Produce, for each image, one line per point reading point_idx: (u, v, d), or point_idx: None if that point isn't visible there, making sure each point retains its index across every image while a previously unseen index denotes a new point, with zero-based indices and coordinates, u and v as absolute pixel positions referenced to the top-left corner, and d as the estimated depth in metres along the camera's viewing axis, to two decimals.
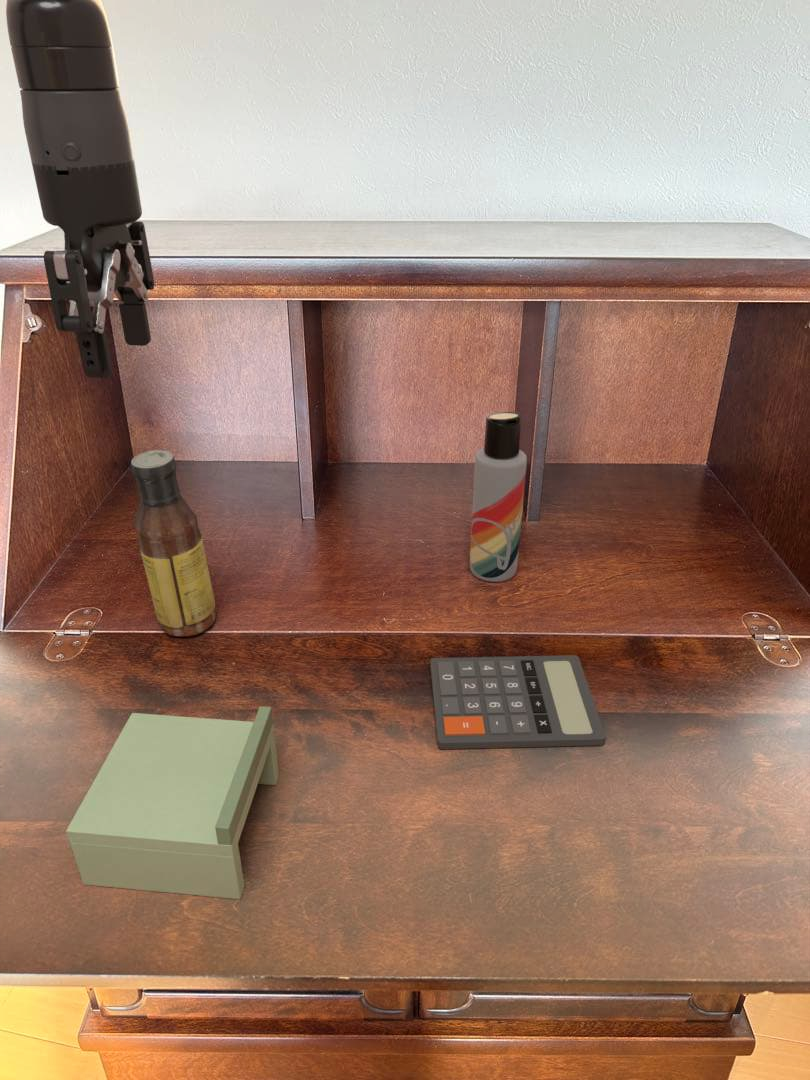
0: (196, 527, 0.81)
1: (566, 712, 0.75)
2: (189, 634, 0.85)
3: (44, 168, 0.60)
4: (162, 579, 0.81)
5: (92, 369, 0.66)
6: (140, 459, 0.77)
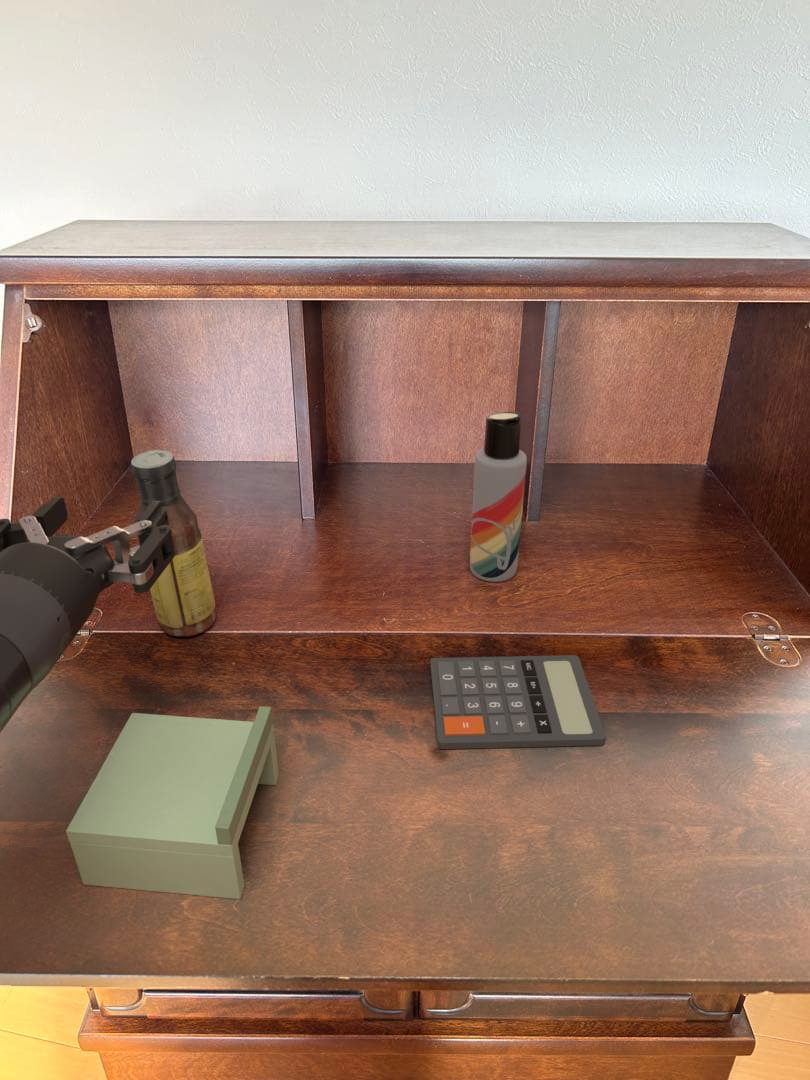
0: (196, 527, 0.81)
1: (566, 712, 0.75)
2: (189, 634, 0.85)
3: None
4: (162, 579, 0.81)
5: None
6: (140, 459, 0.77)
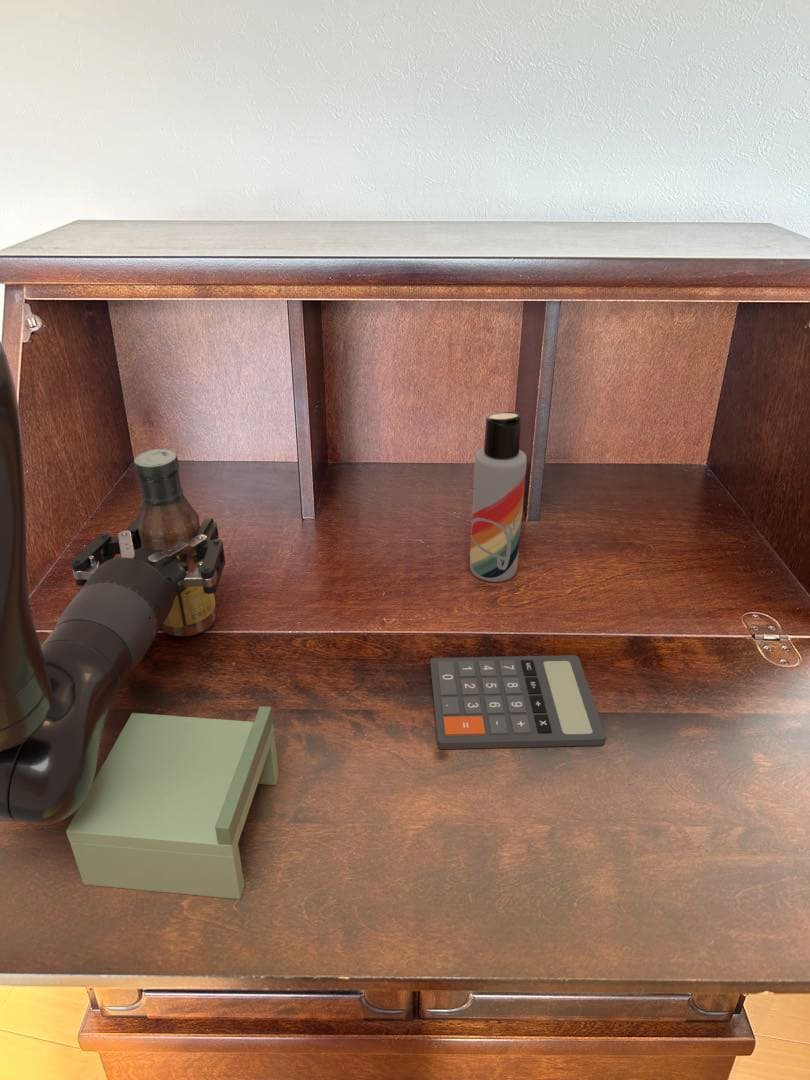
0: (198, 526, 0.81)
1: (566, 712, 0.75)
2: (189, 633, 0.85)
3: None
4: None
5: None
6: (143, 458, 0.77)
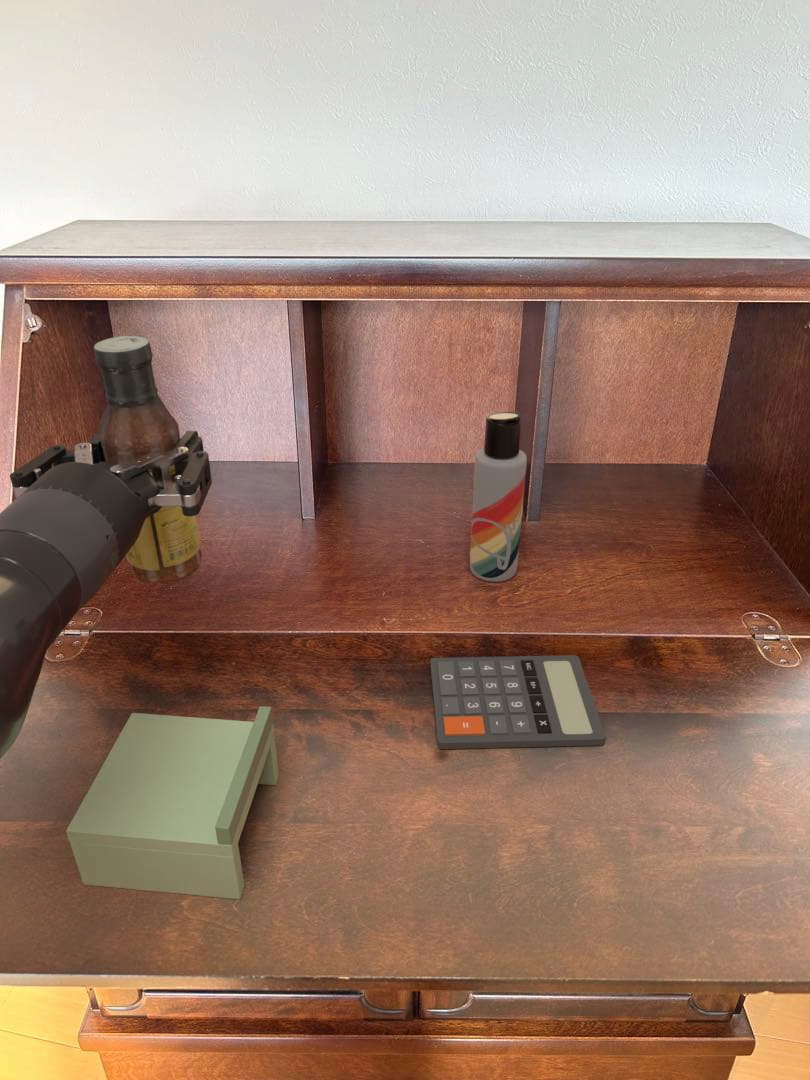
0: (177, 439, 0.64)
1: (566, 712, 0.75)
2: (167, 579, 0.67)
3: None
4: None
5: None
6: (106, 343, 0.60)
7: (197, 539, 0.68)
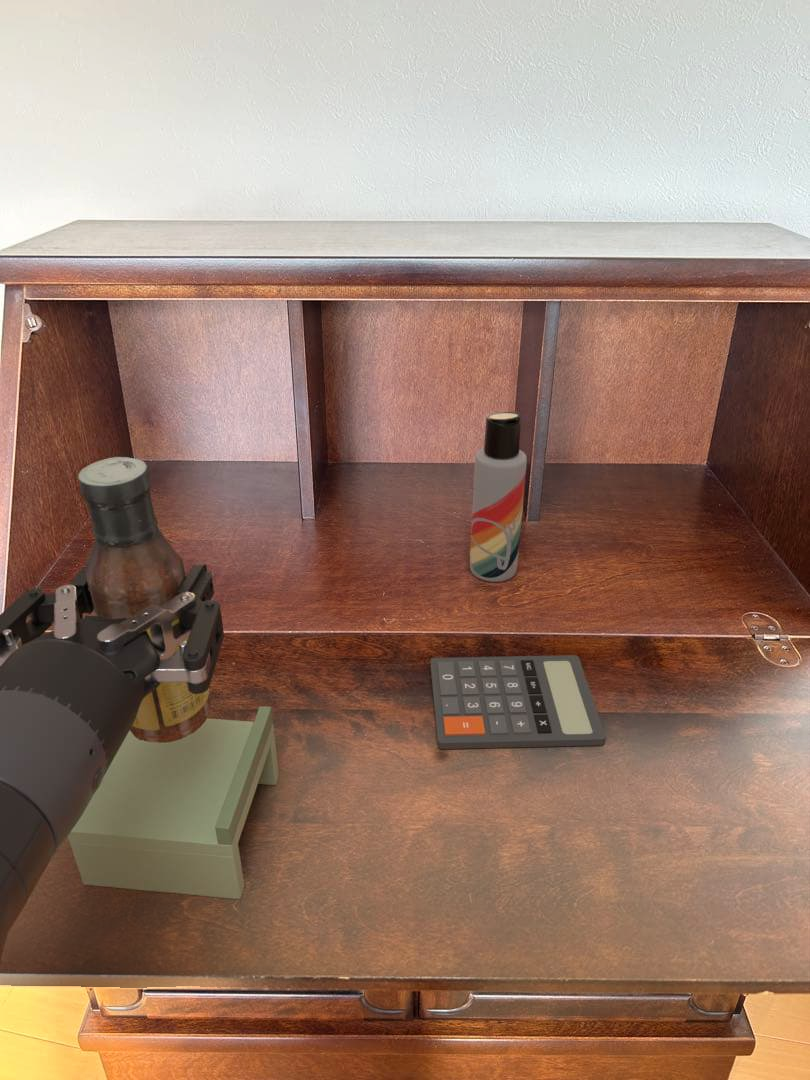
0: (182, 578, 0.52)
1: (566, 712, 0.75)
2: (169, 739, 0.55)
3: None
4: None
5: None
6: (93, 471, 0.48)
7: None
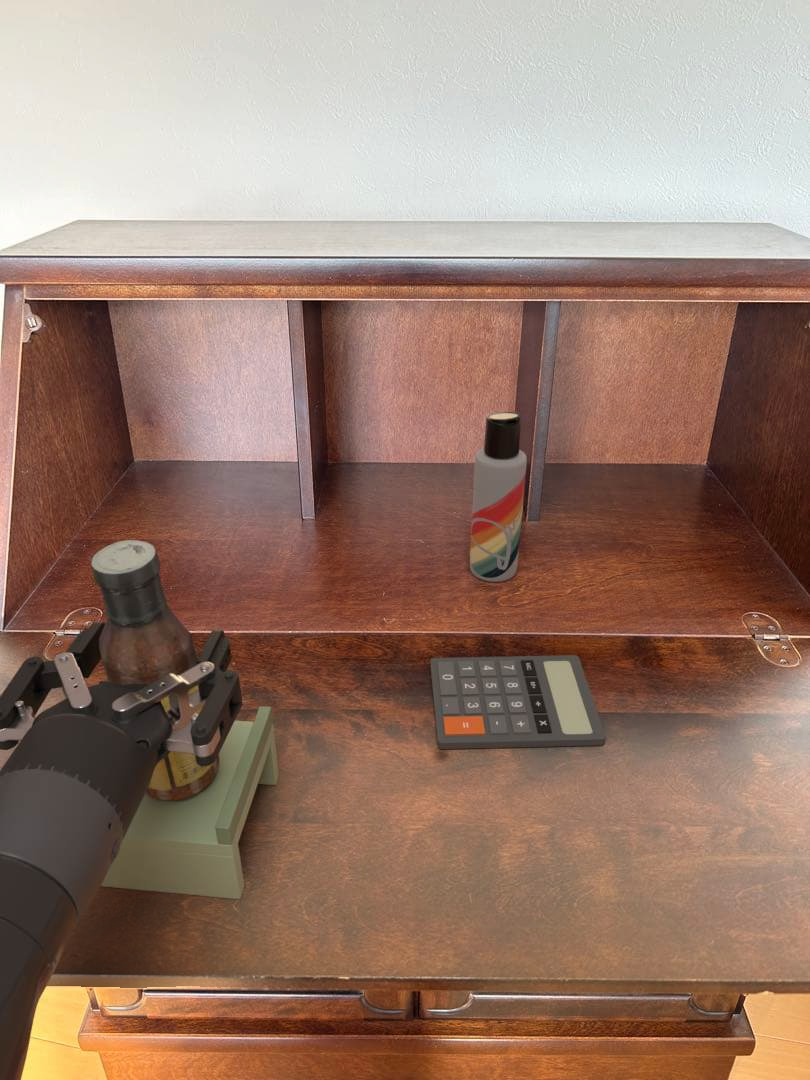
0: (190, 651, 0.55)
1: (566, 712, 0.75)
2: (180, 797, 0.58)
3: None
4: None
5: None
6: (105, 557, 0.51)
7: None
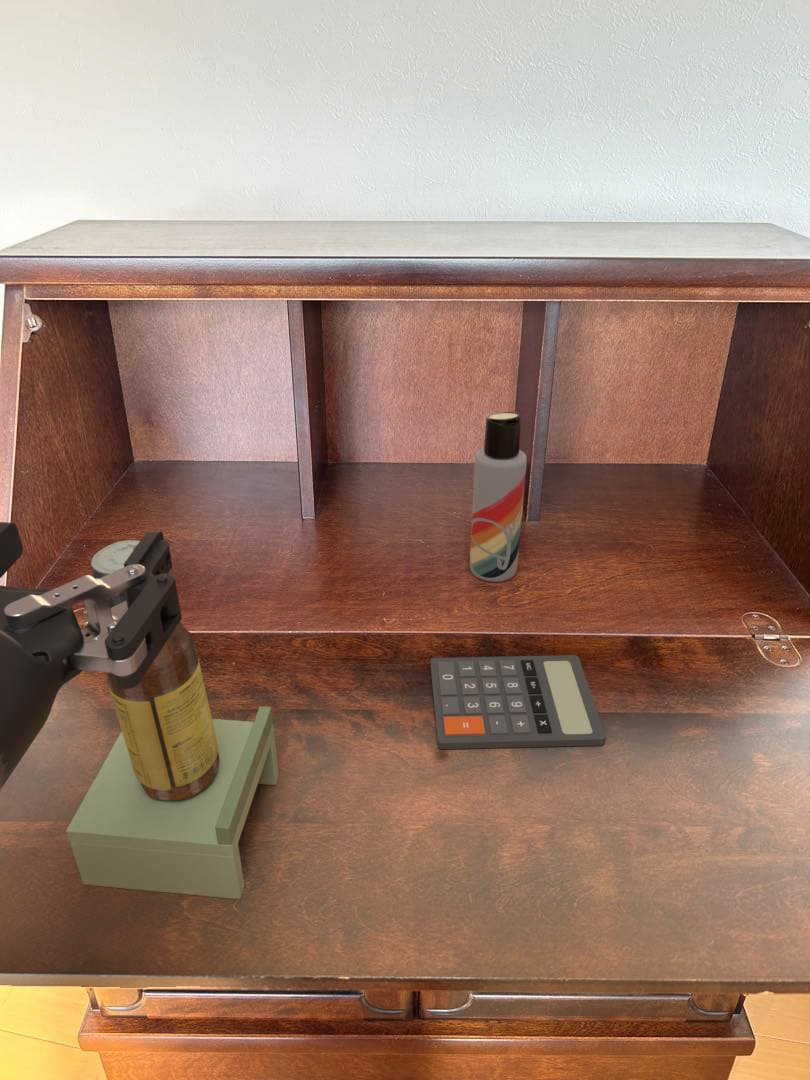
0: (190, 651, 0.55)
1: (566, 712, 0.75)
2: (180, 797, 0.58)
3: None
4: (140, 727, 0.55)
5: None
6: (105, 557, 0.51)
7: (214, 748, 0.59)
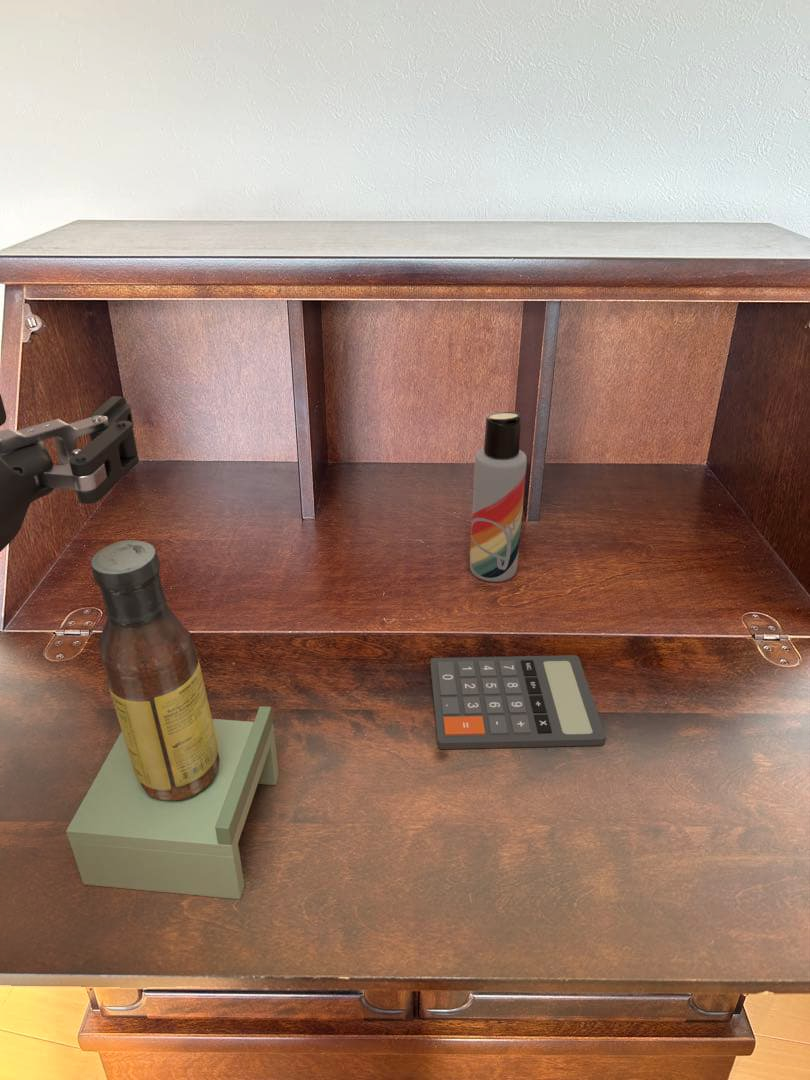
0: (190, 651, 0.55)
1: (566, 712, 0.75)
2: (180, 797, 0.58)
3: None
4: (140, 727, 0.55)
5: None
6: (105, 557, 0.51)
7: (214, 748, 0.59)
